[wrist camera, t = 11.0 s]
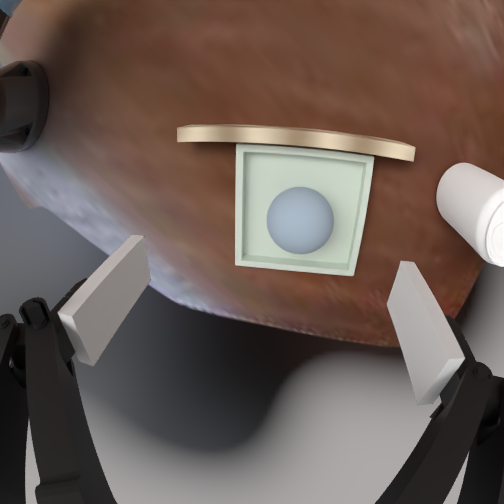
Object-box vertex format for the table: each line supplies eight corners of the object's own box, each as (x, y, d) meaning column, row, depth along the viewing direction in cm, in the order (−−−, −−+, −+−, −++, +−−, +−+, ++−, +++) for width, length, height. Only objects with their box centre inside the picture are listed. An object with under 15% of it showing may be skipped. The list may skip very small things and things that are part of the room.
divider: (190, 137, 32) (177, 141, 29) (190, 124, 31) (177, 127, 28) (401, 154, 29) (413, 161, 26) (402, 142, 29) (415, 147, 25)
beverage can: (424, 181, 30) (473, 220, 20) (471, 150, 27) (530, 176, 17) (447, 234, 33) (491, 285, 22) (491, 203, 29) (543, 244, 19)
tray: (238, 257, 38) (235, 265, 37) (239, 142, 32) (236, 144, 30) (351, 267, 37) (353, 276, 35) (370, 153, 30) (374, 156, 28)
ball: (268, 234, 36) (261, 263, 30) (271, 177, 33) (264, 195, 27) (326, 239, 35) (331, 270, 29) (334, 182, 32) (342, 202, 26)
